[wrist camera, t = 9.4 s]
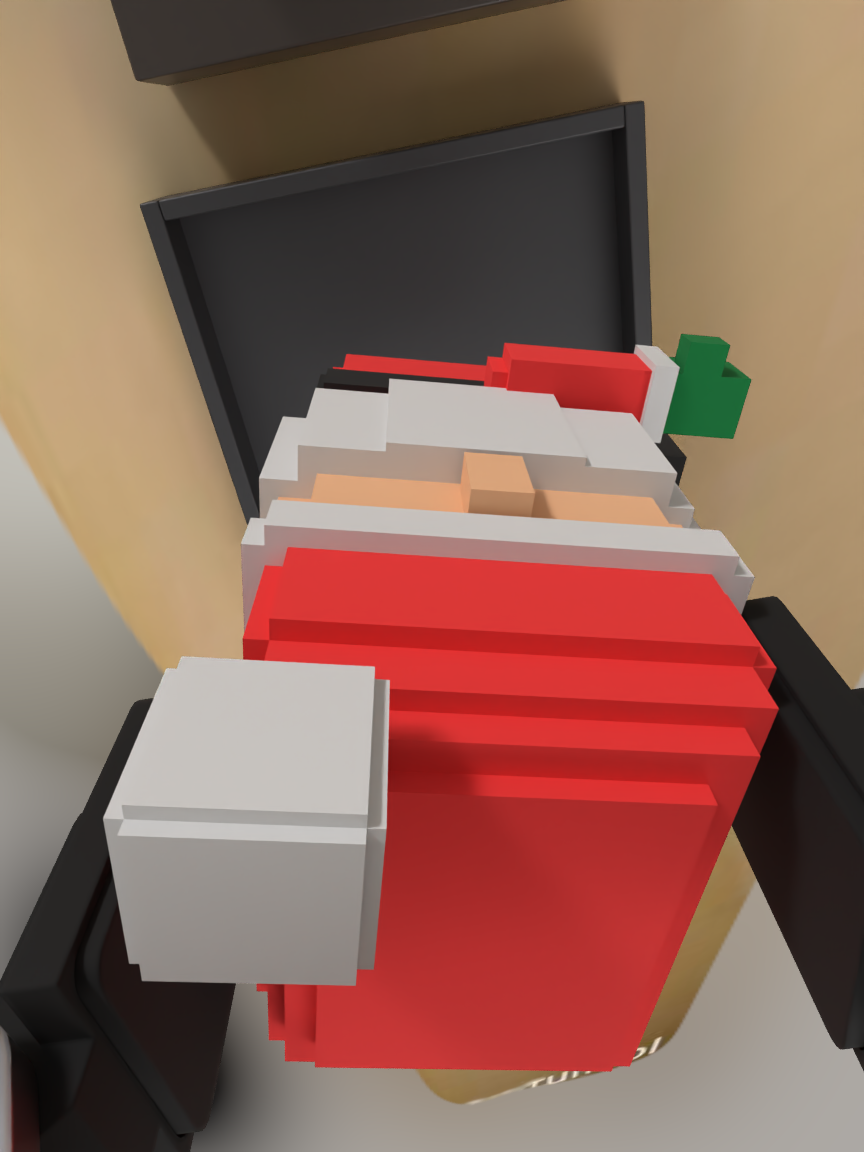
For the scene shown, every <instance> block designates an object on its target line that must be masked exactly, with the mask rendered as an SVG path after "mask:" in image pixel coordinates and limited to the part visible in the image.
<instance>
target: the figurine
mask: <svg viewBox="0 0 864 1152" xmlns="http://www.w3.org/2000/svg"><path fill="white" fill-rule="evenodd" d="M729 348H730V345H729V344H728V343H726V342H725V341H723V340H722V339H721V338H719V337H710V336H699V335H687V334H681V337H680V341H679V345H678V349H677V353H676V357H668V356H667V355H666V354H665V353H664V352H662V351H661V350H660V349H659V348H658V347H656V346H644V345H635V350H634V354H629V353H617V352H606V351H594V350H583V349H571V348H560V347H548V346H536V345H525V344H513V343H504V349H503V356H502V358H500V357H487V365H486V366H484V365H472V364H461V363H449V362H437V361H425V360H413V359H401V358H389V357H377V356H365V355H353V354H346V358H345V362H344V366H343V368H339V367H333V368H328V369H327V372H326V375H324V374H321V375H320V378H319V382H318V385H317V388H315V391H314V395H313V398H312V401H311V404H310V407H309V411H308V414H307V417H306V418H296V417H283V418H282V420H281V423H280V426H279V428H278V431H277V433H276V436H275V438H274V441H273V444H272V446H271V449H270V451H269V454H268V456H267V459H266V461H265V464H264V467H263V469H262V472H261V474H260V477H259V499H260V518H250V521H249V524H248V526H247V529H246V532H245V534H244V537H243V540H242V542H241V557H242V583H243V609H244V636H243V660H241V659H223V658H204V657H185V656H182V657H181V659H180V662H179V664H178V667H177V669H172V668H166V671H165V673H164V675H163V678H162V680H161V683H160V685H159V687H158V690H157V692H156V694H155V697H154V699H153V701H152V704H151V706H150V709H149V711H148V713H147V716H146V718H145V720H144V723H143V725H142V727H141V730H140V732H139V735H138V737H137V739H136V742H135V744H134V746H133V749H132V751H131V753H130V756H129V758H128V761H127V763H126V765H125V768H124V770H123V772H122V775H121V777H120V779H119V782H118V784H117V787H116V789H115V791H114V794H113V796H112V798H111V801H110V803H109V806H108V808H107V810H106V813H105V815H104V817H103V821H104V827H105V832H106V838H107V843H108V849H109V854H110V860H111V866H112V871H113V877H114V882H115V888H116V893H117V899H118V904H119V910H120V915H121V921H122V926H123V932H124V938H125V943H126V949H127V954H128V960H129V964H139V966H140V972H141V978H142V981H165V982H210V983H255V984H257V991H268V1019H269V1020H268V1022H269V1040H285V1061H304V1062H305V1061H307V1062H315V1067H334V1068H336V1067H337V1068H404V1069H474V1070H544V1071H612V1068H613V1066H630V1065H631V1062H632V1060H633V1057H634V1055H635V1053H636V1050H637V1048H638V1046H639V1043H640V1041H641V1038H642V1036H643V1034H644V1031H645V1029H646V1027H647V1024H648V1022H649V1020H650V1017H651V1015H652V1012H653V1010H654V1008H655V1005H656V1003H657V1001H658V998H659V996H660V993H661V991H662V989H663V986H664V984H665V982H666V979H667V977H668V975H669V972H670V970H671V967H672V965H673V963H674V960H675V958H676V956H677V953H678V951H679V948H680V946H681V944H682V941H683V939H684V937H685V934H686V932H687V930H688V927H689V925H690V922H691V920H692V918H693V915H694V913H695V911H696V908H697V906H698V903H699V901H700V899H701V896H702V894H703V892H704V889H705V887H706V885H707V882H708V880H709V877H710V875H711V873H712V870H713V868H714V866H715V863H716V861H717V858H718V856H719V854H720V851H721V849H722V847H723V844H724V842H725V840H726V837H727V835H728V832H729V830H730V828H731V825H732V823H733V821H734V818H735V816H736V813H737V811H738V809H739V806H740V804H741V802H742V799H743V797H744V795H745V792H746V790H747V787H748V785H749V783H750V780H751V778H752V776H753V773H754V771H755V768H756V766H757V764H758V761H759V759H760V757H761V756H760V753H761V750H762V748H763V745H764V743H765V741H766V738H767V736H768V733H769V731H770V729H771V726H772V724H773V722H774V719H775V717H776V714H777V712H778V710H779V708H778V707H777V705H776V703H775V702H774V700H773V699H772V697H771V695H770V694H769V692H768V689H769V687H770V684H771V682H772V679H773V677H774V674H775V672H776V669H777V668H776V666H775V665H774V663H773V662H772V660H771V659H770V657H769V656H768V654H767V653H766V652H765V650H764V649H763V647H762V646H761V644H760V643H759V641H758V640H757V638H756V637H755V635H754V634H753V632H752V631H751V629H750V628H749V626H748V625H747V623H746V622H745V620H744V619H743V617H742V616H741V614H742V611H743V609H744V606H745V603H746V600H747V598H748V595H749V592H750V589H751V586H752V584H753V581H754V578H755V577H754V575H753V574H752V573H751V571H750V570H749V569H748V567H747V566H746V565H745V564H744V562H743V561H742V560H741V558H740V556H739V555H738V553H737V552H736V551H735V549H734V548H733V547H732V545H731V544H730V543H729V541H728V540H727V539H726V537H725V536H724V535H723V533H722V532H721V531H720V530H705V529H701V528H700V527H699V526H698V524H697V523H696V521H695V520H694V518H693V513H694V510H695V509H694V507H693V506H692V505H691V503H690V502H689V501H688V499H687V498H686V497H685V495H684V494H683V492H682V491H681V490H680V488H679V487H678V486H679V483H680V479H681V476H682V472H683V468H684V465H685V461H686V458H687V457H686V456H685V455H684V454H683V452H682V451H681V450H680V449H679V447H678V446H677V445H676V444H675V443H674V441H673V440H672V439H671V438H670V437H669V435H668V434H678V435H691V436H703V437H716V438H729V439H733V438H734V434H735V431H736V428H737V425H738V421H739V418H740V415H741V412H742V408H743V405H744V402H745V399H746V395H747V392H748V389H749V386H750V383H751V379H750V378H749V377H747V376H746V375H745V374H743V373H742V372H741V371H740V370H738V369H737V368H736V367H734V366H733V365H732V364H731V363H729V362H726V358H727V355H728V351H729Z"/></svg>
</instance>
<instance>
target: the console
mask: <svg viewBox="0 0 864 1152" xmlns="http://www.w3.org/2000/svg"><path fill="white" fill-rule="evenodd" d="M560 1H564V0H111V3H112V6H113V10H114V13H115V16H116V19H117V22H118V25H119V29H120V32H121V35H122V38H123V41H124V44H125V48H126V51H127V54H128V57H129V60H130V63H131V67H132V70H133V73H134V76H135V79H136V80H137V81H140V82H147V83H153V84H160V85H166V86H169V85H174V84H178V83H183V82H187V81H192V80H197V79H201V78H206V77H211V76H215V75H220V74H225V73H229V72H234V71H239V70H243V69H248V68H253V67H257V66H262V65H267V64H271V63H276V62H281V61H285V60H290V59H294V58H299V57H304V56H308V55H313V54H318V53H322V52H327V51H332V50H336V49H341V48H346V47H350V46H355V45H360V44H364V43H369V42H374V41H378V40H383V39H388V38H392V37H397V36H401V35H406V34H411V33H415V32H420V31H425V30H429V29H434V28H439V27H443V26H448V25H453V24H457V23H462V22H467V21H471V20H476V19H481V18H485V17H490V16H495V15H499V14H504V13H508V12H513V11H518V10H522V9H527V8H532V7H536V6H541V5H546V4H550V3H555V2H560Z"/></svg>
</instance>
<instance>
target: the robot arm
mask: <svg viewBox="0 0 864 1152" xmlns="http://www.w3.org/2000/svg"><path fill="white" fill-rule="evenodd" d="M741 616H742V617H743V619H744V620H745V622H746V623H747V625H748V626H749V628H750V629H751V631H752V632H753V634H754V635H755V637H756V638H757V640H758V641H759V643H760V644H761V646H762V647H763V649H764V650H765V652H766V653H767V654H768V656H769V657H770V659H771V660H772V662H773V663H774V665H775V666H776V668H777V669H776V672H775V674H774V677H773V679H772V682H771V684H770V687H769V689H768V692H769V694H770V695H771V697H772V699H773V700H774V702H775V703H776V705H777V707H778V708H779V710H778V712H777V714H776V717H775V719H774V722H773V724H772V726H771V729H770V731H769V733H768V736H767V738H766V741H765V743H764V745H763V748H762V750H761V753H760V756H761V757H760V759H759V761H758V764H757V766H756V768H755V771H754V773H753V776H752V778H751V780H750V783H749V785H748V787H747V790H746V792H745V795H744V797H743V799H742V802H741V804H740V806H739V809H738V811H737V813H736V816H735V818H734V821H733V823H732V827H733V829H734V831H735V833H736V836H737V838H738V840H739V842H740V844H741V846H742V848H743V851H744V853H745V855H746V857H747V859H748V861H749V863H750V866H751V868H752V870H753V872H754V874H755V876H756V879H757V881H758V883H759V885H760V887H761V889H762V891H763V893H764V896H765V898H766V900H767V902H768V904H769V906H770V908H771V911H772V913H773V915H774V917H775V919H776V921H777V924H778V926H779V928H780V930H781V932H782V934H783V937H784V939H785V941H786V943H787V945H788V947H789V949H790V951H791V954H792V956H793V958H794V960H795V962H796V964H797V966H798V969H799V971H800V973H801V975H802V977H803V979H804V982H805V984H806V986H807V988H808V990H809V992H810V994H811V997H812V999H813V1001H814V1003H815V1005H816V1007H817V1010H818V1012H819V1014H820V1016H821V1018H822V1020H823V1022H824V1025H825V1027H826V1029H827V1031H828V1033H829V1035H830V1037H831V1039H832V1040H833V1042H834V1043H835V1045H836V1046H837V1047H838V1048H839V1049H850V1048H853V1050H854V1052H855V1054H856V1056H857V1058H858V1060H859V1062H860V1064H861V1066H862V1068H863V1071H864V688H859V689H852V690H851V689H850V688H849V687H848V685H847V684H846V683H845V681H844V680H843V679H842V678H841V676H840V675H839V674H838V673H837V671H836V670H835V669H834V667H833V666H832V665H831V664H830V662H829V661H828V660H827V659H826V657H825V656H824V655H823V653H822V652H821V651H820V650H819V648H818V647H817V646H816V645H815V643H814V642H813V641H812V639H811V638H810V637H809V636H808V634H807V633H806V632H805V631H804V629H803V628H802V627H801V626H800V624H799V623H798V622H797V620H796V619H795V618H794V617H793V615H792V614H791V613H790V612H789V610H788V609H787V608H786V606H785V605H784V604H783V603H782V601H781V600H779V599H778V598H777V597H774V596H771V597H765V598H759V599H753V600H747V601H746V603H745V606H744V609H743V611H742V614H741ZM153 699H154V698H150V699H144V700H139V701H137V702H135V703H134V704H133V706H132V707H131V709H130V711H129V713H128V716H127V718H126V720H125V722H124V724H123V726H122V729H121V731H120V733H119V735H118V737H117V739H116V742H115V744H114V746H113V748H112V750H111V752H110V754H109V756H108V759H107V761H106V763H105V765H104V767H103V769H102V772H101V774H100V776H99V778H98V780H97V782H96V785H95V787H94V789H93V791H92V793H91V795H90V797H89V800H88V802H87V804H86V806H85V808H84V810H83V813H81V814H80V815H79V817H78V818H77V820H76V821H75V823H74V825H73V826H72V829H71V831H70V833H69V835H68V837H67V839H66V841H65V844H64V846H63V848H62V850H61V852H60V854H59V856H58V858H57V861H56V863H55V865H54V867H53V869H52V872H51V874H50V876H49V878H48V880H47V882H46V884H45V886H44V888H43V890H42V893H41V895H40V897H39V899H38V901H37V903H36V905H35V908H34V910H33V912H32V914H31V916H30V918H29V921H28V922H27V925H26V927H25V929H24V931H23V933H22V935H21V937H20V940H19V942H18V944H17V946H16V948H15V950H14V952H13V955H12V957H11V959H10V961H9V963H8V965H7V967H6V969H5V972H4V974H3V976H2V978H1V980H0V1152H190V1149H191V1144H192V1140H193V1135H194V1132H199V1131H203V1129H204V1128H205V1127H206V1125H207V1123H208V1120H209V1117H210V1113H211V1108H212V1103H213V1098H214V1093H215V1088H216V1083H217V1077H218V1072H219V1067H220V1061H221V1057H222V1052H223V1046H224V1041H225V1036H226V1031H227V1026H228V1020H229V1015H230V1010H231V1005H232V1000H233V995H234V990H235V985H236V983H210V982H165V981H142V978H141V972H140V966H139V964H129V960H128V954H127V949H126V943H125V938H124V932H123V926H122V921H121V915H120V910H119V904H118V899H117V893H116V888H115V882H114V877H113V871H112V866H111V860H110V854H109V849H108V843H107V838H106V832H105V827H104V821H103V817H104V815H105V813H106V810H107V808H108V806H109V803H110V801H111V798H112V796H113V794H114V791H115V789H116V787H117V784H118V782H119V779H120V777H121V775H122V772H123V770H124V768H125V765H126V763H127V761H128V758H129V756H130V753H131V751H132V749H133V746H134V744H135V742H136V739H137V737H138V735H139V732H140V730H141V727H142V725H143V723H144V720H145V718H146V716H147V713H148V711H149V709H150V706H151V704H152V701H153Z"/></svg>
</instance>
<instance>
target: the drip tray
mask: <svg viewBox="0 0 864 1152" xmlns="http://www.w3.org/2000/svg"><path fill="white" fill-rule="evenodd" d="M140 208H141V211H142V214H143V217H144V220H145V223H146V226H147V229H148V231H149V234H150V237H151V240H152V243H153V246H154V249H155V252H156V255H157V258H158V261H159V264H160V267H161V270H162V273H163V276H164V279H165V282H166V285H167V288H168V291H169V294H170V297H171V300H172V303H173V306H174V309H175V312H176V315H177V318H178V321H179V323H180V326H181V329H182V332H183V335H184V338H185V341H186V344H187V347H188V350H189V353H190V356H191V359H192V362H193V365H194V368H195V371H196V374H197V377H198V380H199V383H200V386H201V389H202V392H203V395H204V398H205V401H206V404H207V407H208V410H209V413H210V415H211V418H212V421H213V424H214V427H215V430H216V433H217V436H218V439H219V442H220V445H221V448H222V451H223V454H224V457H225V460H226V463H227V466H228V469H229V472H230V475H231V478H232V481H233V484H234V487H235V490H236V493H237V496H238V499H239V502H240V505H241V508H242V510H243V513H244V516H245V519H246V522H247V525H248V524H249V521H250V518H260V499H259V477H260V474H261V472H262V469H263V467H264V464H265V461H266V459H267V456H268V454H269V451H270V449H271V446H272V444H273V441H274V438H275V436H276V433H277V431H278V428H279V426H280V423H281V420H282V418H283V417H296V418H306V417H307V414H308V411H309V407H310V404H311V401H312V398H313V395H314V391H315V388H317V385H318V382H319V378H320V375H321V374H324V375H326V372H327V369H328V368H333V367H339V368H343V366H344V362H345V358H346V354H353V355H365V356H377V357H389V358H401V359H413V360H425V361H437V362H449V363H461V364H472V365H484V366H486V365H487V357H500V358H502V356H503V349H504V343H513V344H525V345H536V346H548V347H560V348H571V349H583V350H594V351H606V352H617V353H629V354H634V350H635V345H644V346H652V323H651V292H650V261H649V230H648V199H647V168H646V137H645V106H644V101H634V102H623V103H616V104H612V105H607V106H602V107H597V108H592V109H587V110H582V111H578V112H573V113H568V114H563V115H558V116H553V117H548V118H544V119H539V120H534V121H529V122H524V123H519V124H514V125H510V126H505V127H500V128H495V129H490V130H485V131H480V132H476V133H471V134H466V135H461V136H456V137H451V138H446V139H441V140H437V141H432V142H427V143H422V144H417V145H412V146H407V147H403V148H398V149H393V150H388V151H383V152H378V153H373V154H369V155H364V156H359V157H354V158H349V159H344V160H339V161H335V162H330V163H325V164H320V165H315V166H310V167H305V168H301V169H296V170H291V171H286V172H281V173H276V174H271V175H267V176H262V177H257V178H252V179H247V180H242V181H237V182H232V183H228V184H223V185H218V186H213V187H208V188H203V189H198V190H194V191H189V192H184V193H179V194H174V195H169V196H164V197H161V198H158V199H155V200H151V201H148V202H145V203H142V204H140Z"/></svg>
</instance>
